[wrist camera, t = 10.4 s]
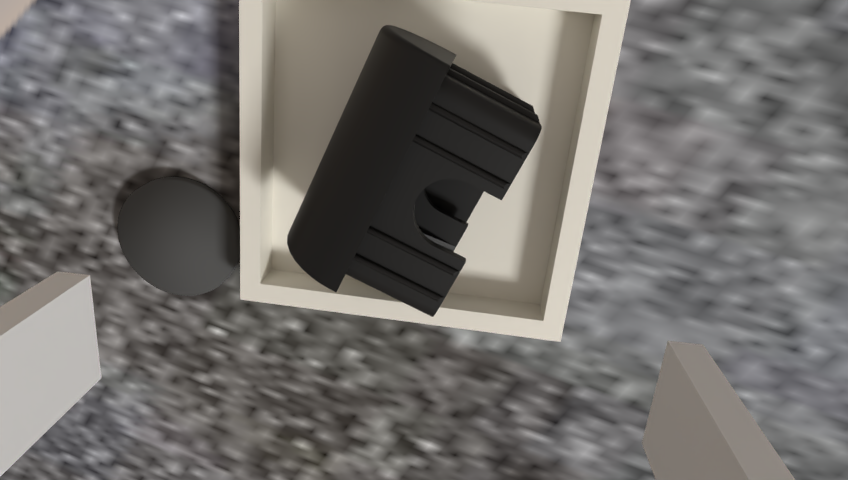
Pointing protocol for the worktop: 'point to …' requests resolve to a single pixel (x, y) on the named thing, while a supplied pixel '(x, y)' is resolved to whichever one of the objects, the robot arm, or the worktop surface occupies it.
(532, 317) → the mount tray
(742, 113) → the worktop surface
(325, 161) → the end cap
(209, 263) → the lens cap
